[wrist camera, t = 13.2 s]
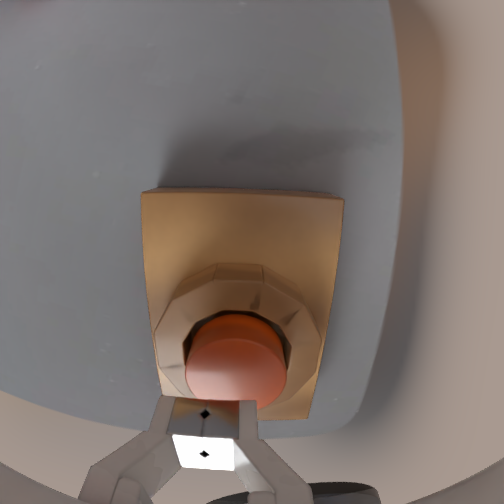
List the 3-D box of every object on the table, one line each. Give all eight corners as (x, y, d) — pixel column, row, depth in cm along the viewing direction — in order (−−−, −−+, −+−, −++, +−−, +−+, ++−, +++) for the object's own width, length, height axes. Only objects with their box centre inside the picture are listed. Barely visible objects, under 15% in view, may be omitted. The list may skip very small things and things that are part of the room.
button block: (302, 394, 17) (312, 443, 13) (173, 389, 16) (159, 437, 13) (330, 193, 13) (361, 205, 9) (156, 187, 13) (121, 197, 9)
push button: (278, 385, 12) (281, 414, 10) (194, 382, 12) (188, 410, 10) (286, 314, 11) (292, 340, 9) (189, 310, 11) (179, 336, 9)
